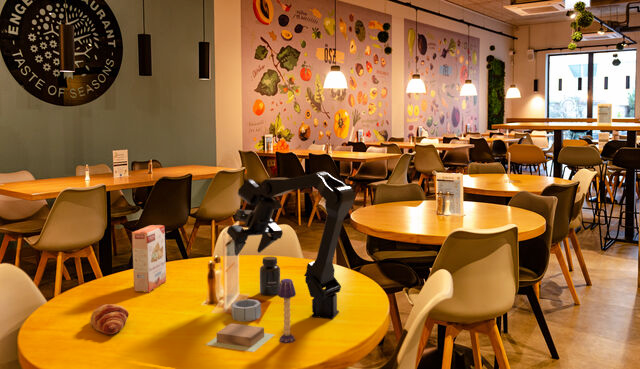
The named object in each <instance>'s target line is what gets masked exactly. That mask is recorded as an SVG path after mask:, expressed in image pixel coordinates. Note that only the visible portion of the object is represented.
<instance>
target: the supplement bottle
mask: <svg viewBox="0 0 640 369" xmlns="http://www.w3.org/2000/svg"><path fill="white" fill-rule="evenodd" d="M261 263H262V265H261V266H260V267H259V293H260V294H261V295H263V296H266V297H267V296H269V297H271V296H276V295H277V296H278V290H279V286H280V282H281V267H280V266H279V265H278V257H276V256H265V257H262V262H261Z"/></svg>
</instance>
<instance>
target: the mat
mask: <svg viewBox="0 0 640 369" xmlns="http://www.w3.org/2000/svg"><path fill="white" fill-rule="evenodd" d="M275 335H276V334H273V333H267V332H264V337H263V338H262V339H261V340H260V341H258V342H257V343H256V344H255V345H253V346H252V347H246V346H239V345H232V344H226V343H219V342H217V336H215V337H214V338H213V339H211V340H210V341H208V342H207V343H205V344H204V345H206V346H212V347H219V348H226V349H231V350H232V349H233V350H237V351H245V352H250V353H251V352H252V353H254V352H256V351H257V350H258V349H260V348H261V347H262V346H263V345H264V344H265V343H266V342H268V341H269V340H270V339H272V338H273V337H274V336H275Z"/></svg>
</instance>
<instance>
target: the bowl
mask: <svg viewBox="0 0 640 369" xmlns="http://www.w3.org/2000/svg"><path fill="white" fill-rule="evenodd" d="M261 304H262V303H261V302H260V301H259V300H257V299H249V298H246V299H239V300H235V301H234V302H232V303H231V304H230V306H231V317H232V319H233V320H234V321H238V322H252V321H255V320H259V319H260V317H261V316H262V306H261Z"/></svg>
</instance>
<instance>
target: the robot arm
mask: <svg viewBox="0 0 640 369" xmlns="http://www.w3.org/2000/svg"><path fill="white" fill-rule="evenodd" d="M312 187H315V188H316V190H317V192H318V194H319V195H320V196H321V197H322V198H323V200H325V202H324V203H325V204H324V208H325V211H326V219H325V223H324V227H323V231H322V235H321V240H320V243H319V247H318V251H317V255H316V257H315V258H316V259H315V260H313V261H311V262H309V263H307V265H306V270H305V273H304V274H303V276H304V278H305V284H306V286H307V290H308V293H309V296H310V297H311V298H312V299H311V304H312V305H311V306H312V308H311V312H312V314H311V317H312V318H320V319H329V320H333V319H334V318H335V317H336V316H337V315H338V314H339V313H340V311H339V310H338V294H337V293H339V292H340V291H341V288H342V286H341V284H340V282H339V281H338V280H337V278H336V277H335V267H334V261H333V260H334V257H335V253H336V249H337V246H338V242H339V238H340V236H341V230H342V227H343V223H344V219H345V217H346V216H347V215H348V214H349V212H350V211H351V209H352V207H353V205H354V202H355V201H356V193H355V192H354V189H353V188H352V187H351V186H349V185H346V184H345V183H344V182H343V181H341V180H339V179H337V178H335V177H333V176H332V175H331V174H329V173H328V172H326V171H317V172H314V173H311V174H306V175H300V176H296V177H290V178H288V177H274V178H273V177H271V178H265V179H263V180H262V181H261V184H260V185H258V184H257V183H256V181H254V179H250V178H249V179H247V180H246V181H245V182H244V183H243V184H242V185H241V186H240V187H239V188H238V191H237V195H238V197H240V198H241V199H242V200H243V201H244V202H246V203H247V204H248V205H249V206H253V207H254V206H255V209H254V210H251V209H250V210H249V209H246V210H245V209H242V208H240V209H239V208H237V209H236V212H235V216H234V217H235V219H237V220H238V221H241V222H244V226H245V227H247V228H246V229H244V228H243V226H242V225H240V224H238V225H234V224H233V225H228V227H227V230H226V233H227V234H228V236H229V237H230V238H231V239H232V240H233V242H234V243H233V245H234V246H233V248H234V255H235V256H238V255H239V254H240V253H241V251H242V249H244V247H245V245H246V244H247V240H248V237H251V236H261V238H260V241H259V244H258V246H257V247H258V248H257V250H256V251H257V253H258V254H259V253H261V252H263V251H264V250H265V249H267V248H268V247H269V246H270V245H271V244H273V243H275V242H276V241H278V239H281V238H282V236H283V230H282V228H280V226H279V225H278V224H277V223H276V222H273V221H274V220H273V219H272V217H273V214H274V211H275V210H280V209H282V208H283V206H282V203H281V202H280V199H275V197H279V196H284V195H286V194H288V193H290V192H292V191H295V190H300V189H305V188H312Z"/></svg>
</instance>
